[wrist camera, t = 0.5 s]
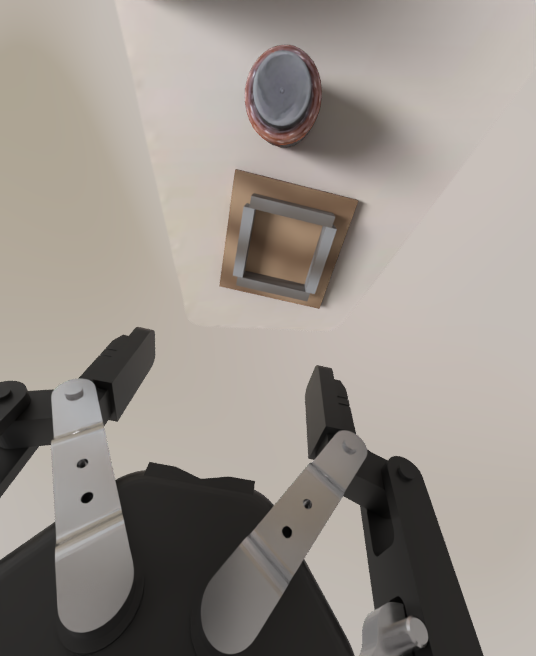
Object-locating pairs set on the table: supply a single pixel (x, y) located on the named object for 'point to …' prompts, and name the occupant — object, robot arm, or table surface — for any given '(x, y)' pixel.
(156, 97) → the table surface
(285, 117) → the supplement bottle
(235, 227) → the collar holder
